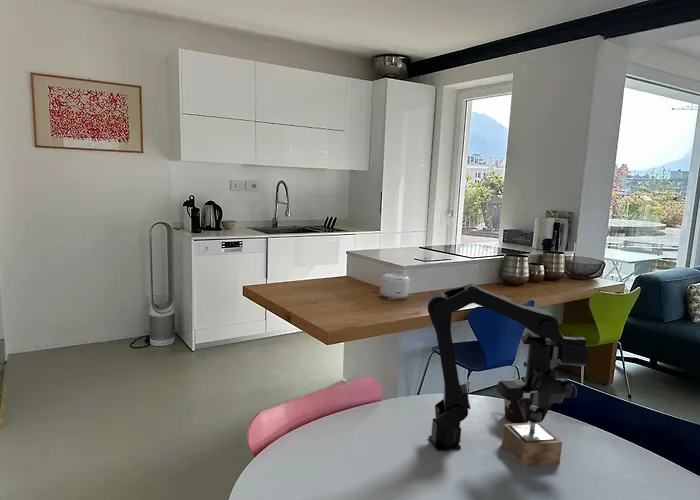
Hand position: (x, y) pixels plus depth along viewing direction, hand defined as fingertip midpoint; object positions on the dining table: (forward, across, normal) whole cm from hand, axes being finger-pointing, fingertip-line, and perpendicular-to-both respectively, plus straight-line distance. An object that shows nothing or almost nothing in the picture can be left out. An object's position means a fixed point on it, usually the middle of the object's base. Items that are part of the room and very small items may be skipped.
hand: (533, 421), depth 124 cm
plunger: (+3, 0, 0) cm, 3 cm away
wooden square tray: (+8, 0, 0) cm, 8 cm away
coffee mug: (+9, +7, +19) cm, 22 cm away
